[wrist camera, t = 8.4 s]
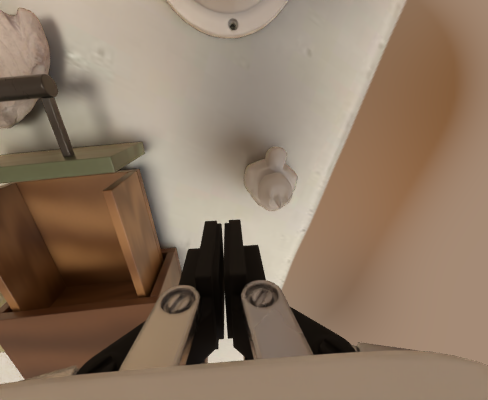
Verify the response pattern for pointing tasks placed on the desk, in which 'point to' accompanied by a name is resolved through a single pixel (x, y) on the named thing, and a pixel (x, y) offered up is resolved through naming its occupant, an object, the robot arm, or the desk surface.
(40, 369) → the cabinet
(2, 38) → the fossil
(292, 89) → the desk surface
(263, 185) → the rubber duck
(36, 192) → the drawer
